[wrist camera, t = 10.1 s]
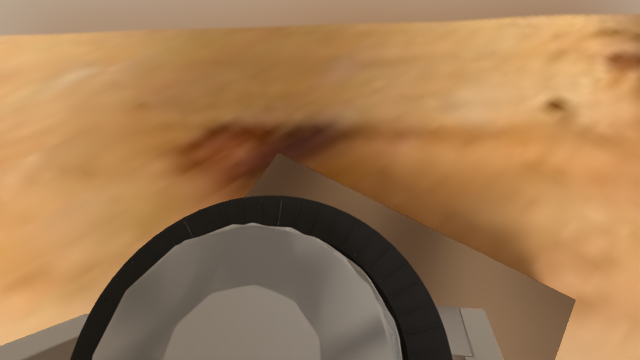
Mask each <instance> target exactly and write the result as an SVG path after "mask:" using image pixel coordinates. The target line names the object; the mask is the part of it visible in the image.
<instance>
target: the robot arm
mask: <svg viewBox="0 0 640 360" xmlns="http://www.w3.org/2000/svg"><path fill="white" fill-rule="evenodd" d="M435 306H436V305H435ZM436 308H437V310H438V312H439V315H440V317H441V320H442V323H443V326H444V328H445V331H446V334H447V338H448V342H449V346H450V350H451V353H452V359H453V360H504V359H503V356H502V354H501V351H500V349H499V346H498V343H497V341H496V338H495V336H494V333H493V330H492V328H491V325H490V323H489V320H488V318H487V315H486V312H485V311H484V310H483V309H482V308H467V307H450V306H436ZM88 315H89V314H84V315H82V316H79V317H76V318H74V319H71V320H68V321H66V322H63V323H60V324H58V325H55V326H52V327H50V328H47V329H44V330H42V331H39V332H36V333H34V334H31V335H28V336H26V337H23V338H20V339H18V340H15V341H12V342H10V343H7V344H5V345H2V346H0V360H70V359H71V355H72V353H73V350H74V347H75V345H76V342H77V339H78V337H79V334H80V332H81V330H82V328H83V326H84V324H85V322H86V319H87V317H88Z"/></svg>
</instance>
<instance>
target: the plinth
mask: <svg viewBox="0 0 640 360" xmlns="http://www.w3.org/2000/svg"><path fill="white" fill-rule="evenodd" d="M264 195H276V196H291V197H299V198H304V199H309V200H313V201H318V202H321V203H324V204H327V205H330V206H333V207H335V208H338V209H340V210H342V211H344V212H346V213H349V214H351V215H352V216H354V217H356V218H358V219H359V220H361V221H363V222H365V223H366V224H367V225H369V226H370V227H372V228H373V229H374V230H376V231H377V232H379V233H380V234H381V235H382V236H383V237H384V238H386V239H387V240H388V241H389V242H390V243H391V244H392V245H394V246H395V248H396V249H397V250H398V251H399V252H400V253H401V254H402V255H403V256H404V257H405V258H406V259H407V261H408V262H409V263H410V265H411V266H412V267H413V269H414V270H415V271H416V273H417V274H418V275H419V277H420V279H421V280H422V282H423V283H424V285H425V287H426V288H427V290H428V292H429V293H430V295H431V298H432V300H433V302H434V304H435V305H436V306H450V307H467V308H482V309H483V310H484V311H485V312H486V315H487V318H488V320H489V323H490V325H491V328H492V330H493V333H494V336H495V338H496V341H497V343H498V346H499V349H500V351H501V354H502V356H503V359H504V360H555V358H556V355H557V352H558V349H559V346H560V343H561V341H562V338H563V335H564V332H565V329H566V326H567V323H568V321H569V318H570V315H571V312H572V309H573V306H574V303H575V301H576V300H575V299H573V298H571V297H569V296H567V295H565V294H563V293H561V292H559V291H557V290H555V289H553V288H551V287H549V286H547V285H545V284H543V283H540V282H538V281H536V280H534V279H532V278H530V277H528V276H526V275H524V274H522V273H520V272H518V271H516V270H514V269H512V268H510V267H508V266H506V265H504V264H502V263H500V262H498V261H496V260H494V259H492V258H490V257H488V256H486V255H484V254H482V253H480V252H478V251H476V250H474V249H472V248H470V247H468V246H466V245H464V244H462V243H460V242H458V241H456V240H454V239H452V238H450V237H448V236H445V235H443V234H441V233H439V232H437V231H435V230H433V229H431V228H429V227H427V226H425V225H423V224H421V223H419V222H417V221H415V220H413V219H411V218H409V217H407V216H405V215H403V214H401V213H399V212H397V211H395V210H393V209H391V208H389V207H387V206H385V205H383V204H381V203H379V202H377V201H375V200H373V199H371V198H369V197H367V196H365V195H363V194H361V193H359V192H357V191H355V190H353V189H351V188H348V187H346V186H344V185H342V184H340V183H338V182H336V181H334V180H332V179H330V178H328V177H326V176H324V175H322V174H320V173H318V172H316V171H314V170H312V169H310V168H308V167H306V166H304V165H302V164H300V163H298V162H296V161H294V160H292V159H290V158H288V157H286V156H284V155H282V154H280V153H278V154H277V155H276V156H275V158H274V159H273V160H272V162H271V163H270V164H269V166H268V167H267V168H266V170H265V171H264V172H263V174H262V175H261V177H260V178H259V179H258V181H257V182H256V183H255V185H254V186H253V187H252V189H251V190H250V191H249V193H248V194H247V195H246V197H250V196H264Z"/></svg>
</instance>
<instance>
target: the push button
mask: <svg viewBox="0 0 640 360" xmlns="http://www.w3.org/2000/svg"><path fill="white" fill-rule="evenodd" d="M70 360H453V359H452V353H451V350H450V346H449V342H448V338H447V334H446V331H445V328H444V326H443V323H442V320H441V317H440V315H439V312H438V310H437V308H436V306H435V304H434V302H433V300H432V298H431V295H430V293H429V292H428V290H427V288H426V287H425V285H424V283H423V282H422V280H421V279H420V277H419V275H418V274H417V273H416V271H415V270H414V269H413V267H412V266H411V265H410V263H409V262H408V261H407V259H406V258H405V257H404V256H403V255H402V254H401V253H400V252H399V251H398V250H397V249H396V248H395V246H394V245H392V244H391V243H390V242H389V241H388V240H387V239H386V238H384V237H383V236H382V235H381V234H380V233H379V232H377V231H376V230H374V229H373V228H372V227H370V226H369V225H367V224H366V223H365V222H363V221H361V220H359V219H358V218H356V217H354V216H352V215H351V214H349V213H346V212H344V211H342V210H340V209H338V208H335V207H333V206H330V205H327V204H324V203H321V202H318V201H313V200H309V199H304V198H299V197H291V196H276V195H264V196H250V197H245V198H239V199H233V200H229V201H225V202H222V203H218V204H215V205H212V206H209V207H207V208H204V209H201V210H199V211H197V212H195V213H193V214H190V215H188V216H186V217H184V218H182V219H181V220H179V221H177V222H176V223H174V224H172V225H170V226H169V227H167V228H166V229H164V230H163V231H162V232H160V233H159V234H157V235H156V236H155V237H153V238H152V239H151V240H150V241H148V242H147V243H146V244H145V245H144V246H143V247H141V248H140V249H139V250H138V251H137V252H136V253H135V254H134V255H133V256H132V257H131V258H130V259H129V260H128V261H127V262H126V263H125V264H124V265H123V266H122V268H121V269H120V270H119V271H118V272H117V274H116V275H115V276H114V277H113V278H112V280H111V281H110V282H109V284H108V285H107V287H106V288H105V289H104V291H103V292H102V294H101V295H100V297H99V298H98V300H97V302H96V303H95V305H94V307H93V308H92V310H91V312H90V314H89V315H88V317H87V319H86V322H85V324H84V326H83V328H82V330H81V332H80V334H79V337H78V339H77V342H76V345H75V347H74V350H73V353H72V355H71V359H70Z"/></svg>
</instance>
